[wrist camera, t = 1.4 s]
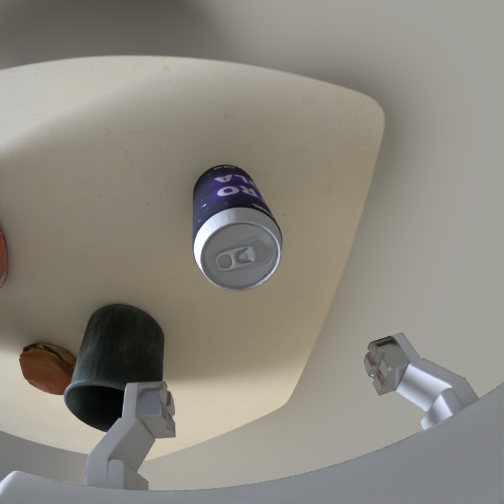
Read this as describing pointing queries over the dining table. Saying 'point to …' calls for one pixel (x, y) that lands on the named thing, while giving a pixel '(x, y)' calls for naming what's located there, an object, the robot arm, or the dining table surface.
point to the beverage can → (233, 230)
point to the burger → (47, 367)
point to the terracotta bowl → (2, 260)
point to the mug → (113, 363)
